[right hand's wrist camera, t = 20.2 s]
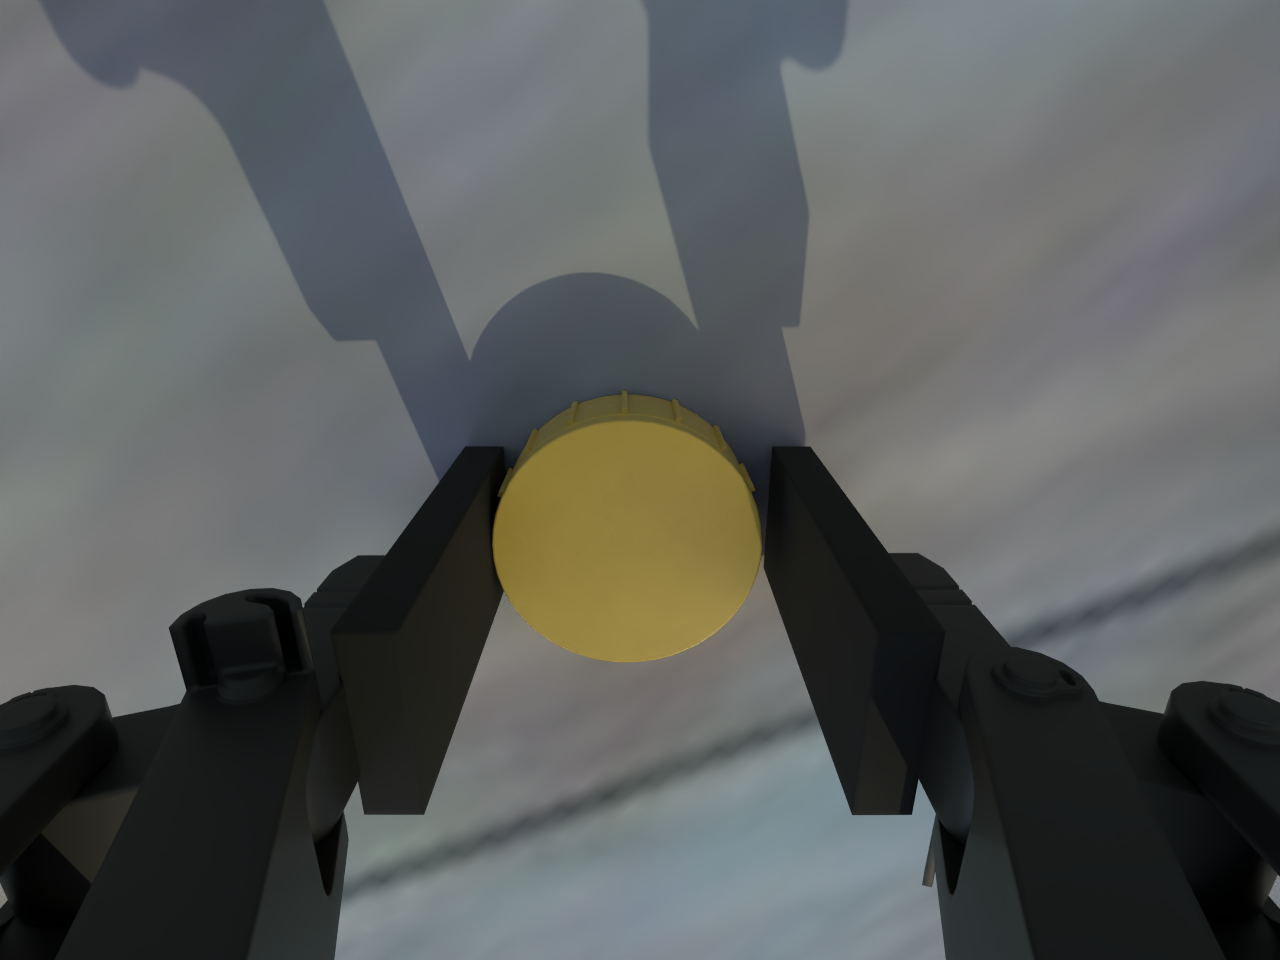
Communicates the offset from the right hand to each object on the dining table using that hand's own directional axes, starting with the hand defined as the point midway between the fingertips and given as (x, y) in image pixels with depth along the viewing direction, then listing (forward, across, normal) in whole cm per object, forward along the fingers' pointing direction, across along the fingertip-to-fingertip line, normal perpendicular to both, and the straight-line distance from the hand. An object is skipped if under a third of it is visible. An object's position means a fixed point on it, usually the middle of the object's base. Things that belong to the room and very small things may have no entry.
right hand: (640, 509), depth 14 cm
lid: (-1, 0, 0) cm, 1 cm away
